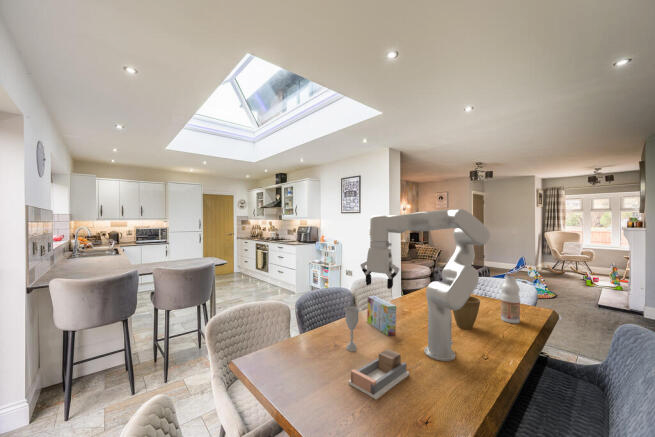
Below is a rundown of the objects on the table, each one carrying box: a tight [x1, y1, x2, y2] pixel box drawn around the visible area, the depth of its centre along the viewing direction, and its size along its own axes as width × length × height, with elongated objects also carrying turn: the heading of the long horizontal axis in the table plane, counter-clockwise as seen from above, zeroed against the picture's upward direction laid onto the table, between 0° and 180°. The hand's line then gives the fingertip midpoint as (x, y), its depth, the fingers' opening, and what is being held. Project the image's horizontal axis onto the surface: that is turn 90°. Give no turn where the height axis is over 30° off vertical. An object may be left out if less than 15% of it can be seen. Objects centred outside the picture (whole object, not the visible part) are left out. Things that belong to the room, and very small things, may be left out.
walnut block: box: [378, 348, 402, 373], centre depth 106 cm, size 6×6×6 cm
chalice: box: [344, 306, 361, 352], centre depth 125 cm, size 7×7×18 cm
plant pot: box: [452, 295, 481, 330], centre depth 153 cm, size 15×15×16 cm
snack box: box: [366, 295, 397, 337], centre depth 150 cm, size 21×6×15 cm, turn 22°
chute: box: [347, 357, 410, 400], centre depth 101 cm, size 21×12×5 cm, turn 134°
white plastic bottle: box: [500, 272, 521, 324], centre depth 163 cm, size 9×9×28 cm
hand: (378, 286), depth 114 cm, fingers open, 9 cm apart
